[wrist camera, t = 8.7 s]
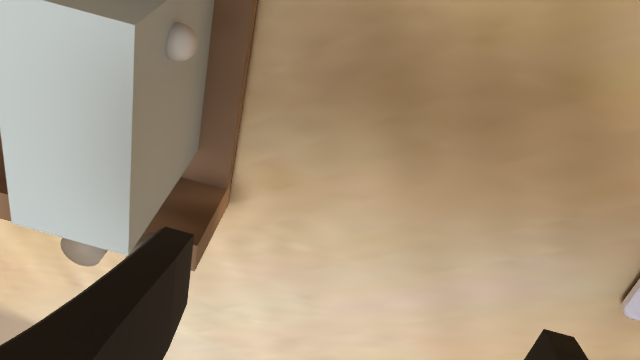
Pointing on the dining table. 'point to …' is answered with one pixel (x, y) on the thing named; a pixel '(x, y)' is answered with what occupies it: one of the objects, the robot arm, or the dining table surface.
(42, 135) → the grey block
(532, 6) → the dining table surface
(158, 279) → the robot arm
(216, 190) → the wooden rimmed tray
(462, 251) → the dining table surface
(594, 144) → the dining table surface
